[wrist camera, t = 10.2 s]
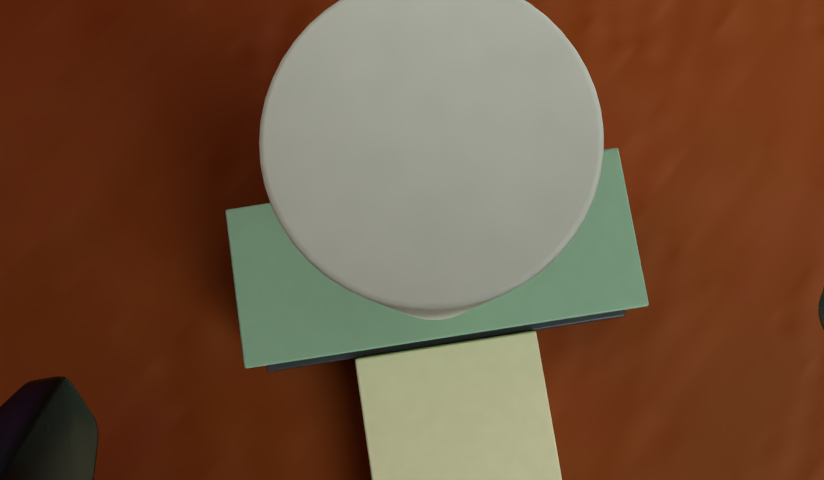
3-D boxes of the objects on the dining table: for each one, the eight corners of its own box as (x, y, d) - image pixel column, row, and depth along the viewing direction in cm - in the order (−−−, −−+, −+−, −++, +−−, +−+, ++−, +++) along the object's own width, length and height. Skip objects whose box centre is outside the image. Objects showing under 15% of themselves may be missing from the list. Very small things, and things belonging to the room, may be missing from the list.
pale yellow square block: (560, 507, 18) (569, 520, 16) (384, 534, 18) (381, 549, 17) (529, 330, 18) (536, 330, 17) (359, 356, 18) (354, 358, 17)
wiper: (616, 316, 18) (1057, 294, 5) (275, 369, 18) (-104, 474, 5) (587, 168, 19) (927, -182, 6) (256, 220, 19) (-131, -8, 6)
